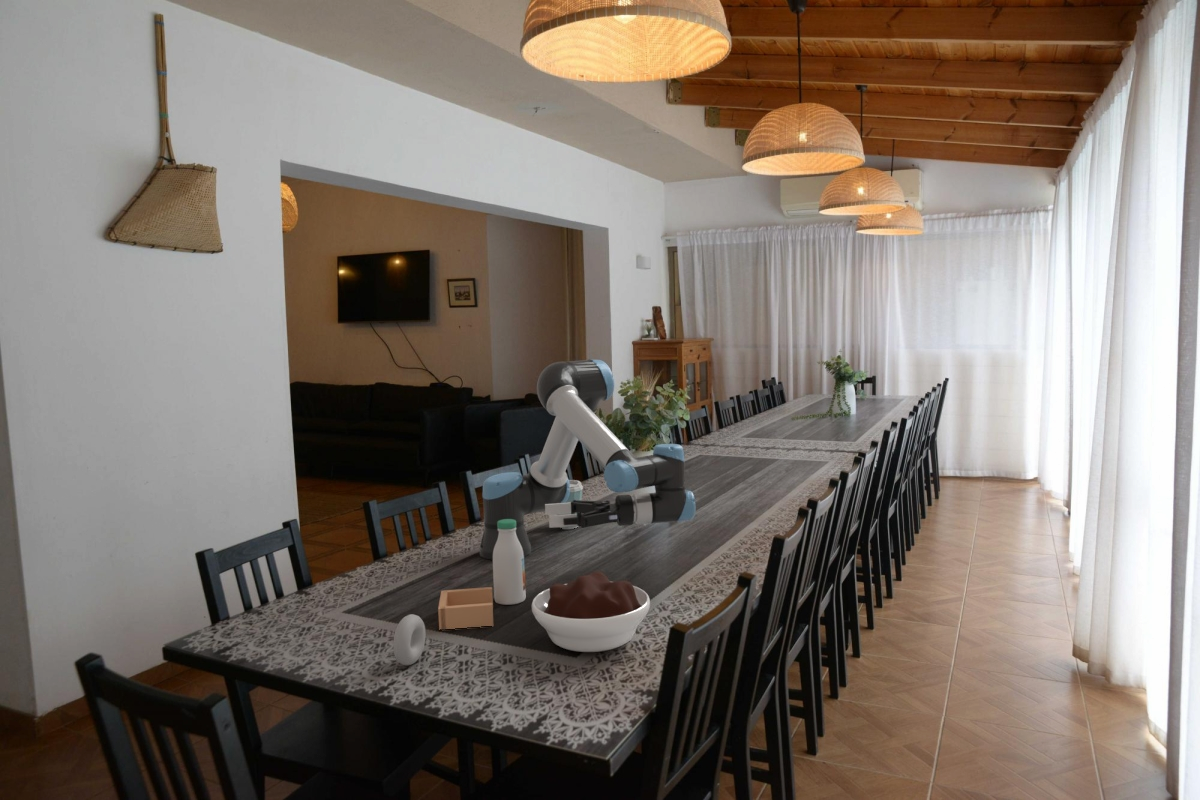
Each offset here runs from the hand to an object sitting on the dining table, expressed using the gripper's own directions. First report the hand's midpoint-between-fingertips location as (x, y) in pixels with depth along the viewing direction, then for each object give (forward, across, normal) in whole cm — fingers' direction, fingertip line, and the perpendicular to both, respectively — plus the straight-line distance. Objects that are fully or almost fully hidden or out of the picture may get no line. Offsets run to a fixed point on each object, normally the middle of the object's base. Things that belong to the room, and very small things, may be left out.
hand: (547, 515), depth 205 cm
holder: (+19, -10, -21) cm, 30 cm away
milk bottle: (+10, 0, -21) cm, 23 cm away
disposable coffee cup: (-11, +70, -20) cm, 74 cm away
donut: (+31, -34, -21) cm, 50 cm away
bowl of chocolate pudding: (-6, -31, -21) cm, 38 cm away
